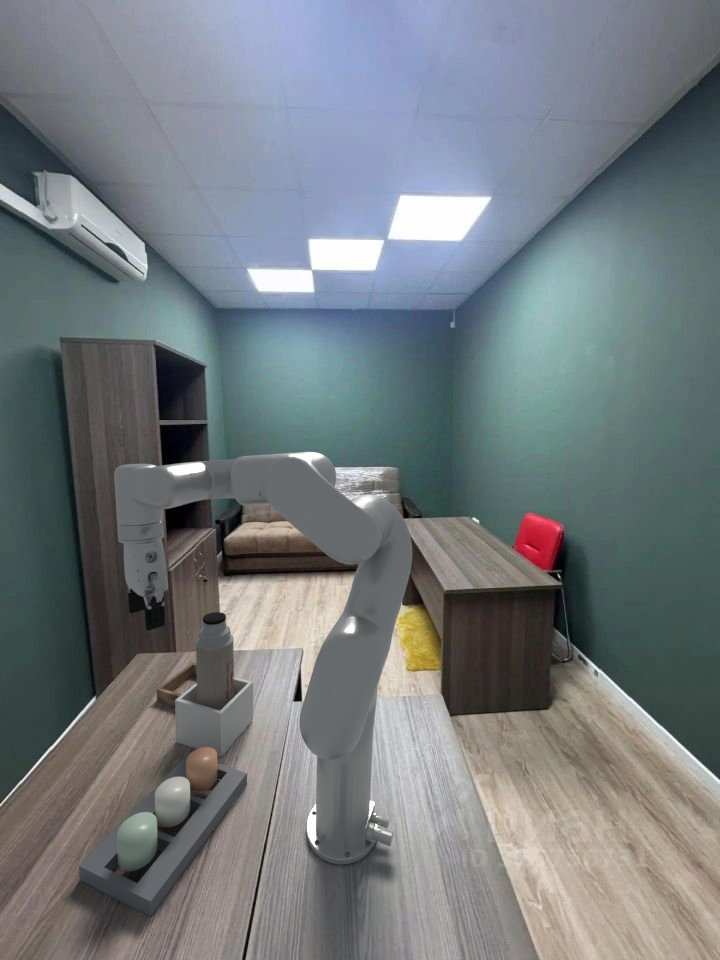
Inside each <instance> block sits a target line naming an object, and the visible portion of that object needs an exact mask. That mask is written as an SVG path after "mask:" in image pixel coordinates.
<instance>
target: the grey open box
mask: <svg viewBox="0 0 720 960" xmlns="http://www.w3.org/2000/svg"><path fill="white" fill-rule="evenodd" d="M181 694H182V695H181V696H180V697H178V698H177V699H176V700H175V706H174V707H175V708H174V709H175V710H174V711H175V714H174V715H175V742H176V743H179V744H183V745H185V746H188V747H191V748H194V749H195V750H196V749H199V748H203V747H210V748H213V749H215V750H216V752H217V755H219V756H218V757H220V756H222V755H223V754H224V755H225V754H226V753H227V752H228V751H229V749H230V748H231V747H232V746H233V744H234V743H235V742H236V741H237V740H236V739H238V738H239V737H240V736H241V735H242V734H243V733H244V732H245V730H246V729H247V728H248V727H249V726H250V725H251V723H252V722H253V721H254V682H253V681H251V680H247V679H244V678H239V677H236V676H234V698H233V699H232V700H231V701H229V702H228V703H227V704H226V705H225V706H224V707H223V708H222V709H221V710H217V709H213V708H210V707H206V706H203V705H200V704H197V682H196V683H194V684H193V685H192V686H191V687H190V688H188V689H187V690H185V692H183V693H181ZM252 720H253V721H252ZM249 724H250V725H249ZM248 725H249V726H248ZM247 726H248V727H247ZM242 732H243V733H242ZM241 733H242V734H241ZM240 734H241V735H240ZM239 735H240V736H239ZM238 736H239V737H238ZM237 737H238V738H237ZM235 740H236V741H235ZM234 741H235V742H234ZM233 742H234V743H233ZM229 747H230V748H229ZM224 755H223V756H224ZM223 756H222V757H223Z"/></svg>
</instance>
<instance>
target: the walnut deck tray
mask: <svg viewBox="0 0 720 960" xmlns="http://www.w3.org/2000/svg"><path fill="white" fill-rule="evenodd" d="M193 675H194V676H197V670H196V663H195V662H191V663H190V664H188V665H187V667H185V668H183V669H182V670H181V671H179V672H178V673H177V674H175V675H174V676H172V677H171V678H170V679H169V680H168V681H166V682H165V683H163V684H162V685H161V686H160V687H158V688H157V689H156V701H158V702H161V703H164V704H167V705H171V706H174V707H175V700H176V699H177V698H178V697H180V696H181V695H182V694H183V693H178V692H175V689H177V688H179V686H181V685H182V684H184V683H185V682H186V681H187V680H188V679H190V678H191V677H192V676H193Z"/></svg>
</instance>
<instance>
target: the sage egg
mask: <svg viewBox="0 0 720 960" xmlns="http://www.w3.org/2000/svg"><path fill="white" fill-rule="evenodd" d="M157 830H158V824H157V818H156V816H155V815H154V814H152V813H150V812H141V813H137V814H135V815H133V816H131V817H129V818H128V819H127V820H126V821H125V822H123V824H122V825H121V826H120V828H119V829H118V832H117V854H118V865H119V866H118V867H119V868H120V870H122V871H124V872H134V871H138V870H140V869H141V868H144V867H145V866H146V865H148V864H149V863H150V862H151V861H152V860H153V859H154V857H155V856H156V855H157V851H158V850H157V848H158V837H157Z"/></svg>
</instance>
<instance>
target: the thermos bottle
mask: <svg viewBox="0 0 720 960" xmlns="http://www.w3.org/2000/svg"><path fill="white" fill-rule="evenodd" d="M202 622H203V627H202V628H201V629H200V630H199V632H198V633H199V634H198V638H197V640H196V641H195V642H196V643H195V650H196V651H195V656H196V660H195V661H196V670H197V675H196V683H197V704H200V705H203V706H206V707H210V708H213V709H217V710H221V709H222V708H223V707H224V706H225V705H226V704H227V703H228V702H229V701H231V700H232V699H233V698H234V677H235V673H234V670H235V667H234V666H235V665H234V664H235V663H234V661H235V660H234V658H235V657H234V656H235V655H234V643H235V642H234V641H235V640H234V636H233V635H232V631H231V628H230V626H229V625H227V615H226V614H225V613H224V612H222V611H221V612H220V611H213V612H210V613H207V614H205V615H204V616H203V617H202Z"/></svg>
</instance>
